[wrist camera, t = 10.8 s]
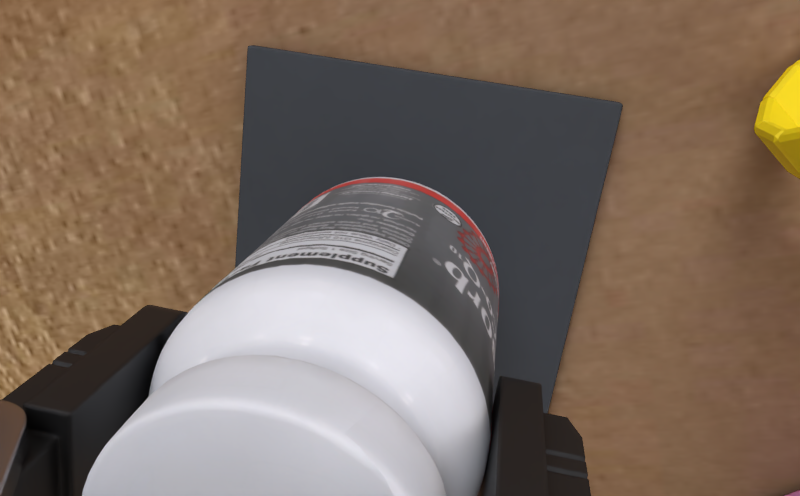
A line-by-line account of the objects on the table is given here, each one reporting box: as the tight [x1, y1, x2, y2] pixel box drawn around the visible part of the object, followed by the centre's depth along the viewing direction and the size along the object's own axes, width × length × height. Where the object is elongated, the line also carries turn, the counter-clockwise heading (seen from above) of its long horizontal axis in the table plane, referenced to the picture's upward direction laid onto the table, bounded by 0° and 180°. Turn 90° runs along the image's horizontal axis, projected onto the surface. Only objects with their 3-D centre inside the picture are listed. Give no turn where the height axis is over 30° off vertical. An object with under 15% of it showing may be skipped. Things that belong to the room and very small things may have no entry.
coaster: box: [235, 45, 623, 414], centre depth 20 cm, size 10×10×1 cm
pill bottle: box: [82, 177, 499, 496], centre depth 13 cm, size 6×6×10 cm
